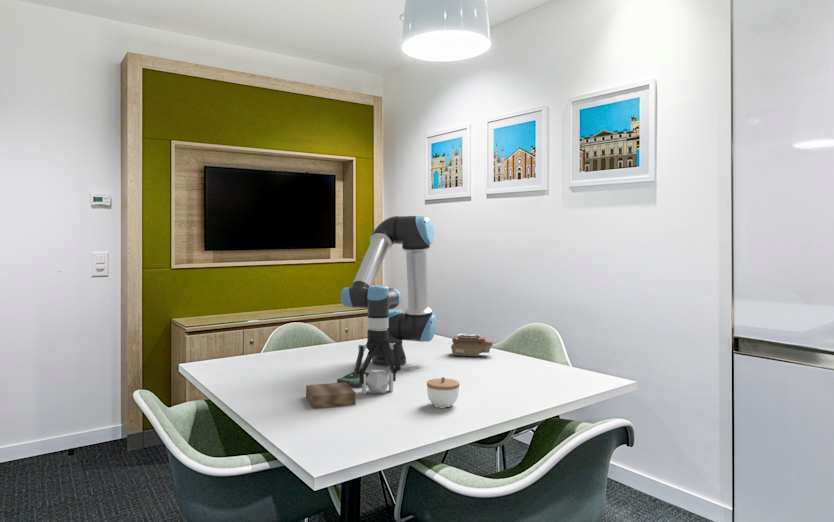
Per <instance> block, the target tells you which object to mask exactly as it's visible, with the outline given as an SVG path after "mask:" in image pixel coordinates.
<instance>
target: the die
mask: <svg viewBox="0 0 834 522" xmlns="http://www.w3.org/2000/svg"><path fill="white" fill-rule="evenodd" d="M386 372H387V371H386V370H385V369H370V371H369V372H368V373H369V375H368V377H367V379H366V383H367V385H366V387H367V388H368V391H369V394H385V393H386V391H387V389H388V388H389V376H388V375H387V373H386Z"/></svg>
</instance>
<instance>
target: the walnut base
mask: <svg viewBox="0 0 834 522" xmlns="http://www.w3.org/2000/svg"><path fill="white" fill-rule="evenodd" d="M356 393H357V392H356V391H355V389H353V387H350V386H349V385H348V384H347V383H346V382H342V383H337V382H331V383H318V384H306V385H305V397H306V399H307V401H308V403H309V404H310V406H311V407H312V409H321V408H334V407H344V406H345V407H346V406H354V405H356V402H357V401H356V399H357V397H356Z"/></svg>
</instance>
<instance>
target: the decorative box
mask: <svg viewBox="0 0 834 522" xmlns="http://www.w3.org/2000/svg"><path fill="white" fill-rule="evenodd" d="M451 340H452V344H451V345H450V349H451V352H452V353H451V354H452V356H459V357H462V356H463V357H478V356H479V355H480V354H484V353H485V354H486V353H487V354H488V353H490V351H491V348H492V347H493V345H494V341H493V339H487V337H486V336H482V335H481V334H478V333H468V332H467V333H462V332H461V333H457V334H456V336H455V337H453V338H452V339H451Z"/></svg>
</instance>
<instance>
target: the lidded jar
mask: <svg viewBox="0 0 834 522" xmlns="http://www.w3.org/2000/svg"><path fill="white" fill-rule="evenodd" d="M426 393H427V397H428V400H429V401H430V403H431V404H432V405H433V407H434V406H437V407H449V406H452V407H453V405H454V404H455V403H456V402H457V401H458V398H459V393H460V382H459V380H456V379H453V378H445V377H444V376H441V377H439V378H433V379H429V380H427V381H426ZM437 407H436V408H437Z"/></svg>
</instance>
